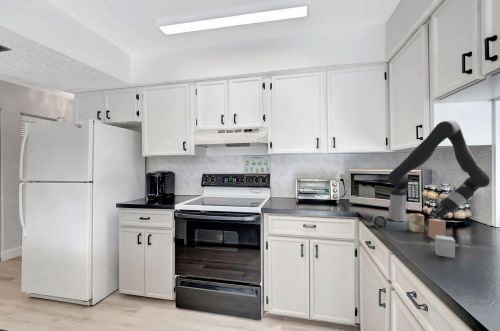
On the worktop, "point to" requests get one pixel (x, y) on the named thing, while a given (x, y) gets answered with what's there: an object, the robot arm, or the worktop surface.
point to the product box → (445, 246)
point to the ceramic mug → (378, 221)
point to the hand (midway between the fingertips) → (426, 223)
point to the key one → (416, 222)
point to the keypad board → (434, 243)
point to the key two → (436, 228)
